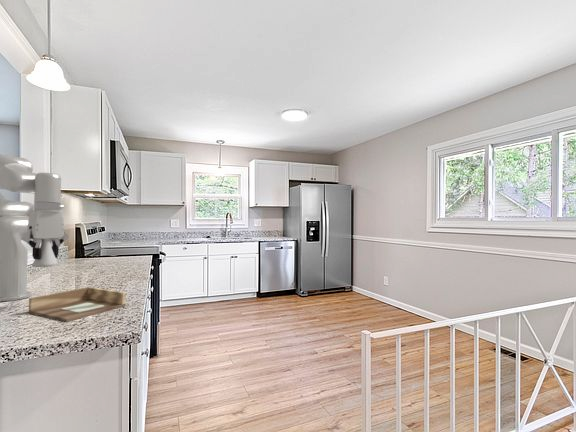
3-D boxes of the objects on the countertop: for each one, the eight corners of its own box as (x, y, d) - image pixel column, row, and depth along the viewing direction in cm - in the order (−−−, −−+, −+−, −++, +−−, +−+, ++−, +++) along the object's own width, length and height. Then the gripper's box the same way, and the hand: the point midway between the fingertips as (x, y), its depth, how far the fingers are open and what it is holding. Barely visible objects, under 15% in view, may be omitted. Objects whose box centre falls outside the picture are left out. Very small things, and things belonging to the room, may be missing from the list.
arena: (28, 313, 103) (29, 298, 103) (88, 299, 121) (89, 286, 121) (67, 321, 95) (67, 305, 95) (125, 305, 113) (125, 292, 113)
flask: (44, 268, 109) (45, 239, 109) (26, 267, 110) (28, 238, 110) (62, 265, 116) (63, 238, 116) (46, 264, 117) (47, 237, 117)
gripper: (65, 208, 123) (64, 255, 122) (13, 206, 107) (11, 260, 107) (78, 208, 120) (76, 256, 119) (25, 206, 104) (23, 261, 104)
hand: (45, 257), depth 113 cm, fingers closed on flask, 4 cm apart
